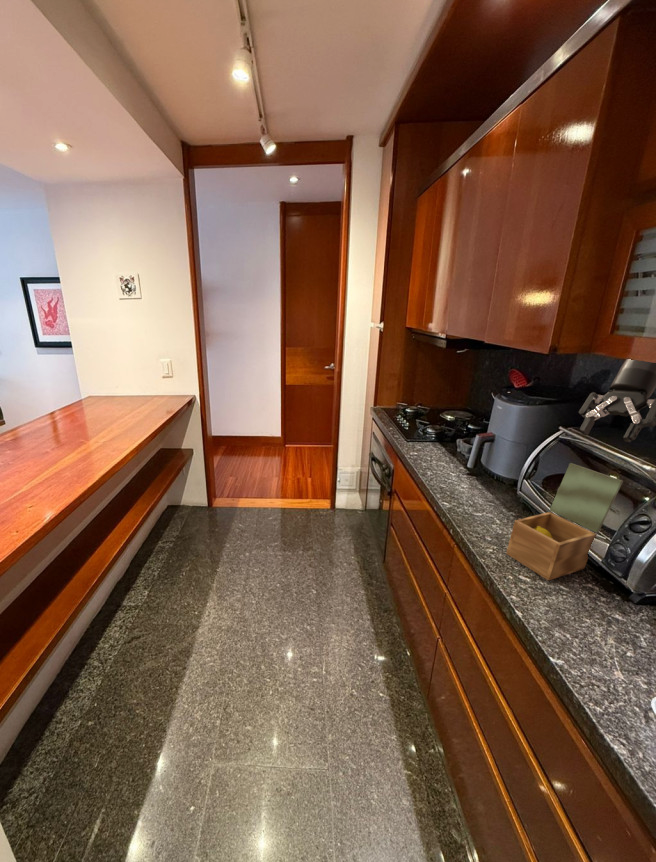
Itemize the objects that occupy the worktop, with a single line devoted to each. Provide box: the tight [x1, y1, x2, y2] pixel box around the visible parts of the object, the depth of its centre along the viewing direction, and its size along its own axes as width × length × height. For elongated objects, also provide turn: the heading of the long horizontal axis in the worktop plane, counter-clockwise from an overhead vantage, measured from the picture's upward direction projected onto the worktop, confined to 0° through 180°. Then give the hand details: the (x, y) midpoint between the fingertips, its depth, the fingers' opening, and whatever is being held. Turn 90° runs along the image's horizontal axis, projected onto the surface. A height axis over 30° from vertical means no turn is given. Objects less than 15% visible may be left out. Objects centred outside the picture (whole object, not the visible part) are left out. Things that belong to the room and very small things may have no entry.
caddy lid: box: [549, 462, 624, 534], centre depth 95 cm, size 13×12×1 cm
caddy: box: [505, 511, 598, 581], centre depth 97 cm, size 13×12×10 cm
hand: (604, 437), depth 90 cm, fingers open, 8 cm apart
